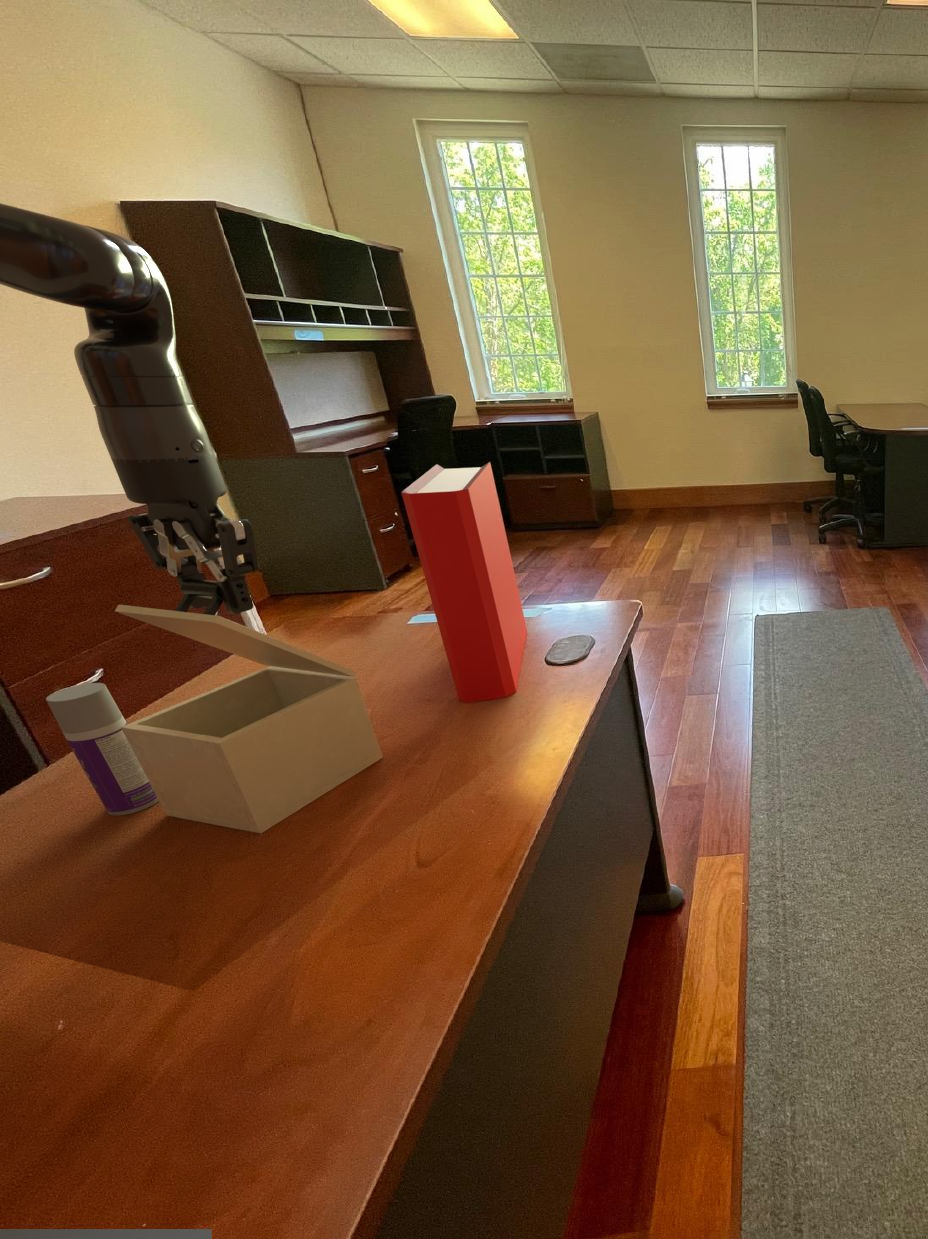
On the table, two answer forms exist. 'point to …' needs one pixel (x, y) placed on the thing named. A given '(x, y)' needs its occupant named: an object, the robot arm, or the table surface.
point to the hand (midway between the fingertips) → (221, 608)
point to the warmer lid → (229, 632)
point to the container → (102, 747)
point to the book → (469, 578)
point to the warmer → (255, 747)
